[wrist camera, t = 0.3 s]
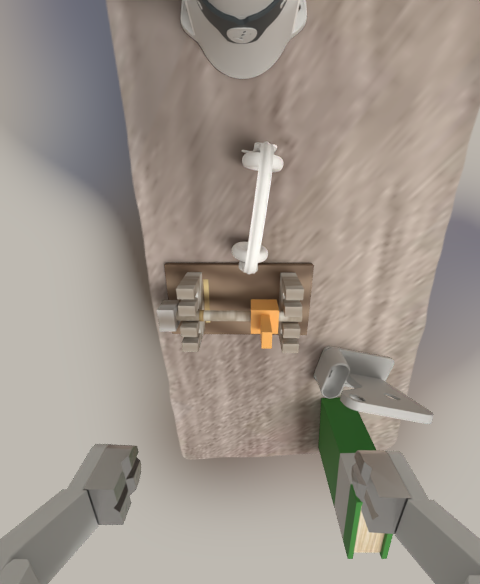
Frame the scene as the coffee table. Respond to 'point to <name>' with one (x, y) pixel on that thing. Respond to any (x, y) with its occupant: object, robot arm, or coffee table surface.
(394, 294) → the coffee table surface
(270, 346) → the sleeve
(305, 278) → the cord comb board
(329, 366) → the phone holder
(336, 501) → the hardback book
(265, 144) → the headset
